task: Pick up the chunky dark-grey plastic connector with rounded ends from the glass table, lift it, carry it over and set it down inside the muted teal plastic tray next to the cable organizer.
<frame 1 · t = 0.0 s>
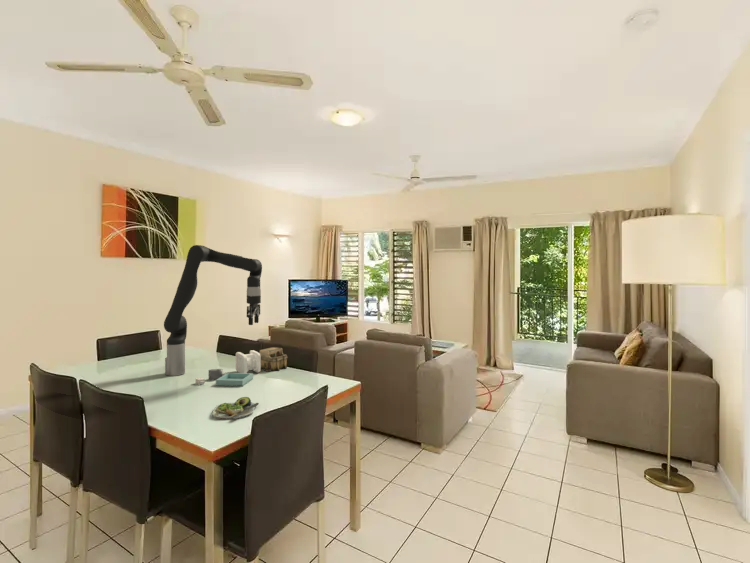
hand: (253, 323, 218), 29 cm above the table, fingers open, 8 cm apart
cable organizer: (247, 372, 226), on the table
connector: (215, 379, 211), on the table
tray: (235, 382, 205), on the table
salad plate: (235, 412, 163), on the table
small plug: (199, 383, 203), on the table
miniature house: (272, 368, 236), on the table
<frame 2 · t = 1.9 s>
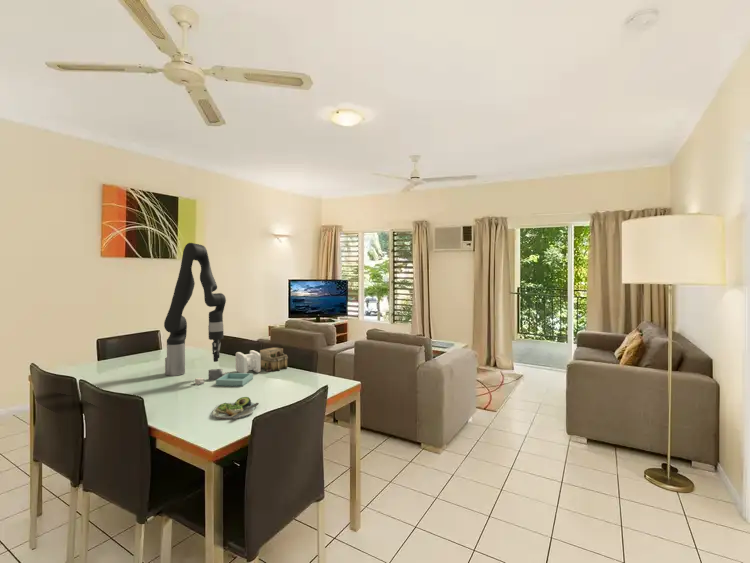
hand: (216, 359, 211), 10 cm above the table, fingers open, 8 cm apart
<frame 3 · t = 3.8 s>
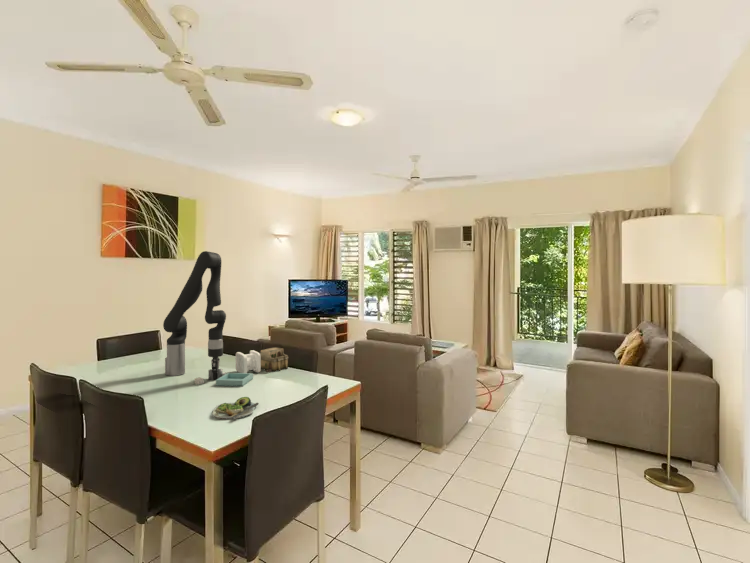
hand: (215, 378, 211), 0 cm above the table, fingers closed on connector, 3 cm apart
connector: (215, 378, 211), on the table, touching gripper
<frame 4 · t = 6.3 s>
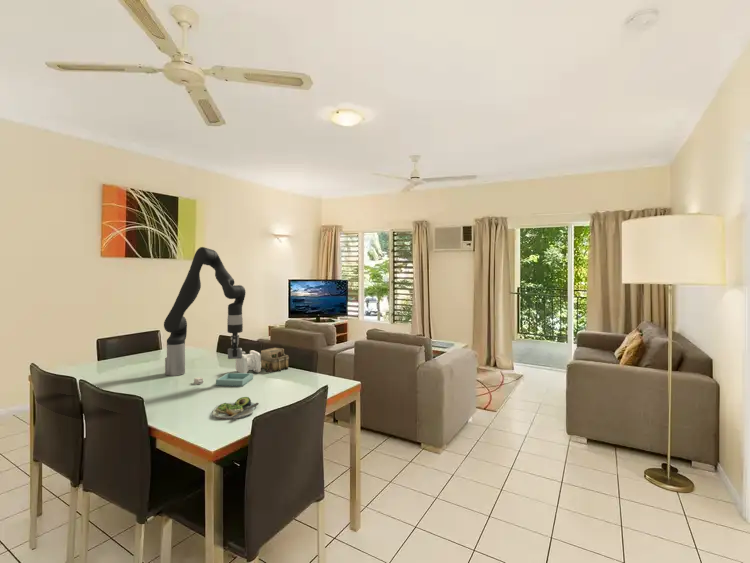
hand: (235, 355, 205), 14 cm above the table, fingers closed on connector, 3 cm apart
connector: (234, 358, 205), point 13 cm above the table, touching gripper
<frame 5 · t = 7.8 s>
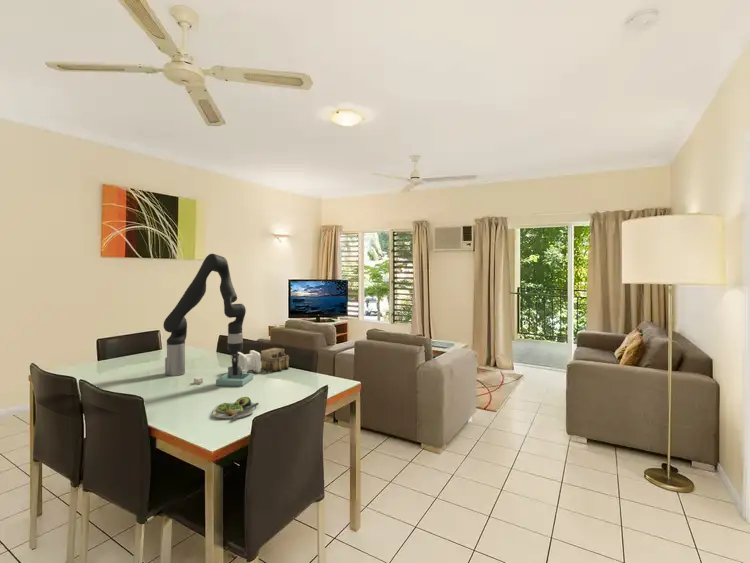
hand: (235, 374, 206), 4 cm above the table, fingers closed on connector, 3 cm apart
connector: (235, 376, 205), point 3 cm above the table, touching gripper
when the fingers open (3 cm above the table, at t = 8.9 s): connector stays where it is, resting on tray.
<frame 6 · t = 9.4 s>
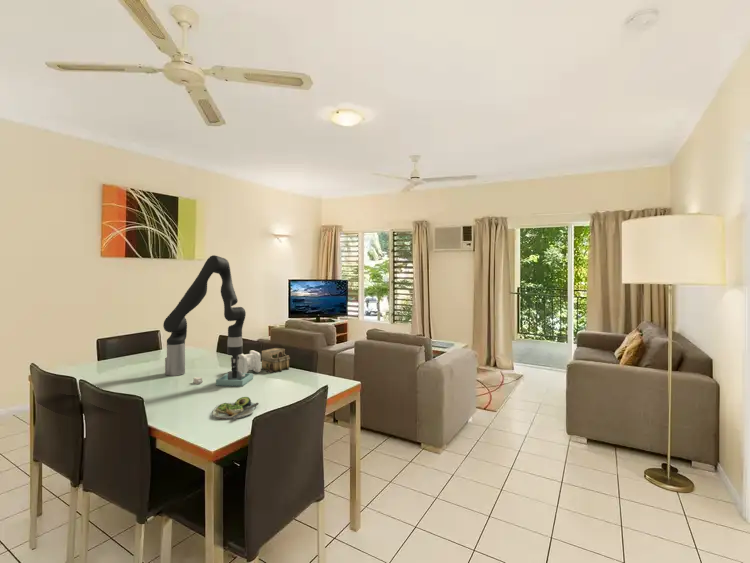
hand: (235, 375, 205), 3 cm above the table, fingers open, 7 cm apart
connector: (234, 381, 205), point 1 cm above the table, touching tray
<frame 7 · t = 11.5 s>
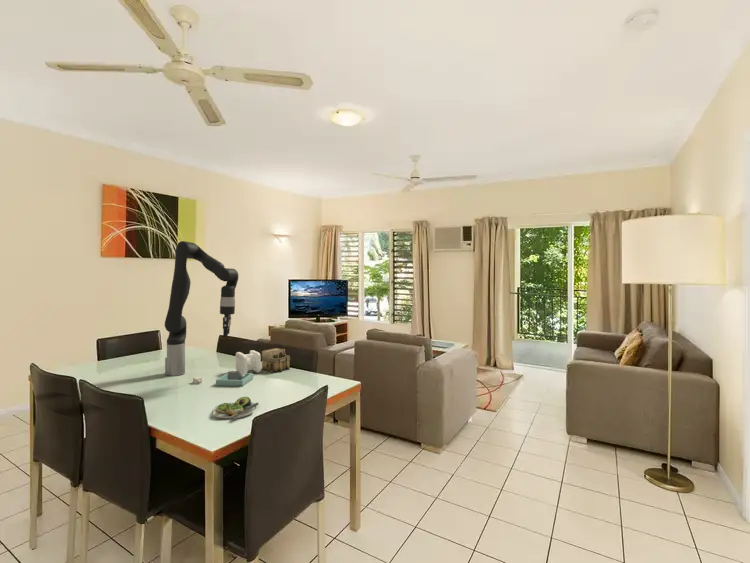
hand: (226, 335, 211), 24 cm above the table, fingers open, 8 cm apart
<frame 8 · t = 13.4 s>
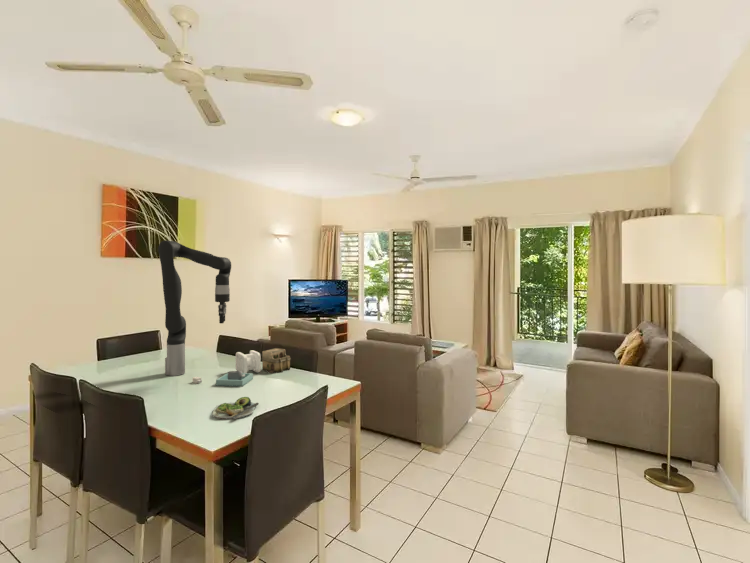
hand: (222, 322, 216), 30 cm above the table, fingers open, 8 cm apart
at the end: connector inside the target area on the tray (0.0 cm from its centre), point 0.6 cm above the tray's base; the gripper is holding nothing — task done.
